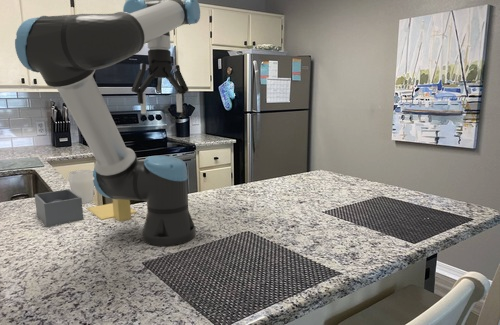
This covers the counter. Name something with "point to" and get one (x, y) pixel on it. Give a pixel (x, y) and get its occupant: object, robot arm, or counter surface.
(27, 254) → the counter surface
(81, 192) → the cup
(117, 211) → the lid
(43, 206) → the tub
